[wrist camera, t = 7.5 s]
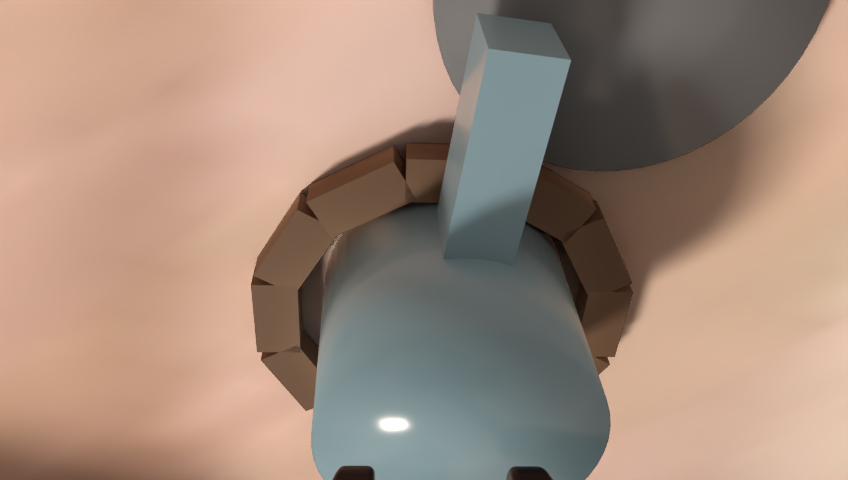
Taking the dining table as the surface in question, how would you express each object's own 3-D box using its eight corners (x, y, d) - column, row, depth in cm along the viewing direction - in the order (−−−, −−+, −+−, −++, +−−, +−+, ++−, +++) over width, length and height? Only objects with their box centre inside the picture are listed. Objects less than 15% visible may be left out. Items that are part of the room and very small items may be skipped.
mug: (529, 379, 24) (565, 538, 19) (315, 363, 23) (300, 525, 18) (648, 21, 17) (744, 134, 13) (357, -21, 16) (351, 84, 12)
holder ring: (658, 151, 19) (667, 166, 18) (584, 426, 25) (589, 445, 24) (243, 137, 18) (238, 153, 18) (268, 424, 24) (265, 444, 24)
